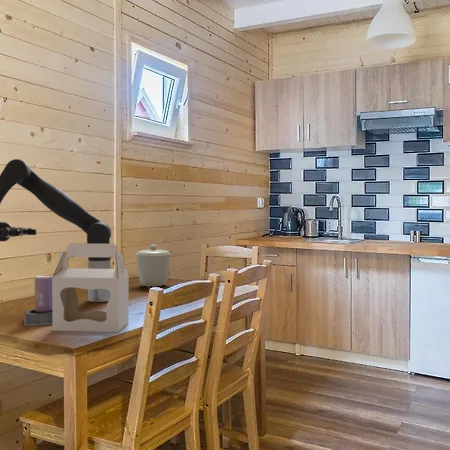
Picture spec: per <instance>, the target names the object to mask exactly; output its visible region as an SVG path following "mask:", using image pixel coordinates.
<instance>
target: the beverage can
mask: <svg viewBox="0 0 450 450" xmlns="http://www.w3.org/2000/svg"><path fill="white" fill-rule="evenodd" d="M52 277H53V275H49V274H48V275H47V274H45V275H44V274H43V275H36V276H35V278H34V309H35V314H43V313H51V312H52Z"/></svg>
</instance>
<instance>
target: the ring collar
mask: <svg viewBox="0 0 450 450" xmlns="http://www.w3.org/2000/svg"><path fill="white" fill-rule="evenodd" d="M24 315H25V316H24V318H23V319H24V320H23V322H24V325H23V326H24V327H34V326H35V327H36V326H49V325H52V312H51V313H43V314H35V308H31V309H28V310H26V311H24Z"/></svg>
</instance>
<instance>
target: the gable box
mask: <svg viewBox="0 0 450 450" xmlns="http://www.w3.org/2000/svg"><path fill="white" fill-rule="evenodd" d="M88 257H110V259H114V268H110V269H88V268H73V267H71V268H69V260H70V258H88ZM58 260H59V261H58V262H59V263H58V265H57V266H56V269H55V271H54V272H53V275H52V324H51V325H52V331H53V332H55V331H56V332H84V333H85V332H89V333H90V332H91V333H92V332H95V333H97V332H99V333H119V332H121V330H122V329H124V328H125V326H127V325H128V324H129V323H130V321H129V272H128V270H127V268H126V265H125V258H124V253H119V252H118V251H117V246H116V244H115V243H109V244H91V243H87V242H86V243H83V242H81V243H80V242H79V243H78V242H77V243H76V242H75V243H74V242H73V243H72V242H71V243H68V244H67V246H66V250H65V251H64V252H60V253H59V259H58ZM76 288H77V289H82V290H87V291H88V290H92V289H106V290H108V291H109V292H110V298H109V301H107V304H106V307H105V311H104V310H91V311H88V312H81V311H79V298H78V295H77V292H76Z"/></svg>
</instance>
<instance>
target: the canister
mask: <svg viewBox="0 0 450 450" xmlns="http://www.w3.org/2000/svg"><path fill="white" fill-rule="evenodd" d="M157 248H158V246H157V244H154V243H153V244H150V245H149V249H142V250H139V251H137V252H136V253H135V254H134V255H135V256H136V262H137V272H138V273H137V274H138V280H139V283H140V285H141V286H142V287H144V286H147V287H146V288H151V287H150V286H154V287H153V288H156V287H155V286H160V285H164V286H166V285H165V284H167V283H168V279H169V270H170V261H171V255H172V252H170V251H168V250H164V249H157Z"/></svg>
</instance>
